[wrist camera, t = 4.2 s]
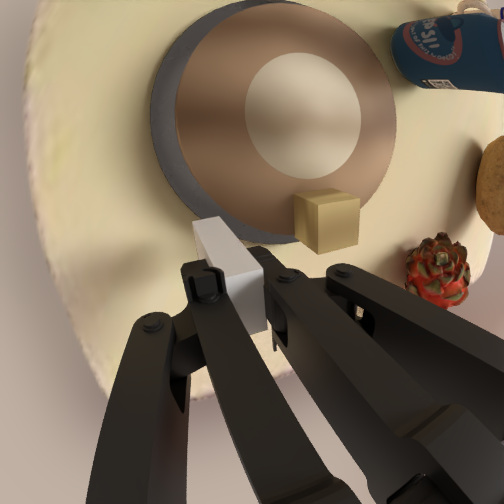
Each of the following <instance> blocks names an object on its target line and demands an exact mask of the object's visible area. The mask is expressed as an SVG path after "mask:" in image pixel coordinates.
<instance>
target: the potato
mask: <svg viewBox="0 0 504 504" xmlns="http://www.w3.org/2000/svg"><path fill="white" fill-rule="evenodd" d="M476 208H477V211H478V213H479V215H480V217H481V219H482V220H483V221H484V222H485V223H486V225H487V226H488V227H489V228H490V230H491V231H493V232H495V233H496V234H498V235H504V136H500V137H499V138H497V139H496V140H494V141H493V142H491V143H490V144H488V146H487V147H486V149H485V150H484V153H483V156H482V159H481V163H480V167H479V170H478V176H477V181H476Z"/></svg>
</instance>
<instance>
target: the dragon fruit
mask: <svg viewBox="0 0 504 504" xmlns="http://www.w3.org/2000/svg"><path fill="white" fill-rule="evenodd" d="M466 259H467V249H466V247H464V246H461V244H460V243H459V242H458V241H457V242H456V243H454V244H453V245H452V243H451V241H450V239H449V238H448V235H447V233H443V232H440V233H437V236H436V237H435V238H434V239H430V238H426V239H424V240H423V241H422V243H421V245H420V247H419V248H418V249H416V250H415V251H414V252H413V253H412V254H411V255H410V256H408V258H407V260H406V268H407V271H408V273H409V275H408V276H407V285H406V283H405V288H406V290H407V291H409V292H411V293H413V294H415V295H417V296H419V297H421V298H423V299H425V300H427V301H429V302H431V303H433V304H435V305H437V306H439V307H441V308H443V309H445V310H447V308H448V307H452V306H457V305H460V304H461V303H462V302H463V301H464V300H465V299H466V298H467V297H468V288H467V286H468V285H469V282H470V277H471V275H470V267H469V264H468V263H467V262H466Z"/></svg>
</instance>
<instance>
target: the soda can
mask: <svg viewBox="0 0 504 504" xmlns="http://www.w3.org/2000/svg"><path fill="white" fill-rule="evenodd" d="M390 51H391V56H392V59H393V61H394V64H395V66H396V67H397V69H398V71H399V72H400V73H401V74H402V75H403V76H404V77H405V78H406V79H407V80H409V81H410V82H412V83H413V84H415V85H417V86H419V87H421V88H426V89H461V90H475V91H486V92H495V93H503V94H504V19H497V18H495V17H493V16H490V15H488V14H486V13H468V14H457V15H449V16H441V17H435V18H429V19H423V20H418V21H413V22H408V23H404V24H401V25H400V26H399V27H398V28H397V29H396V31H395V32H394V34H393V35H392V37H391V40H390Z"/></svg>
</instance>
